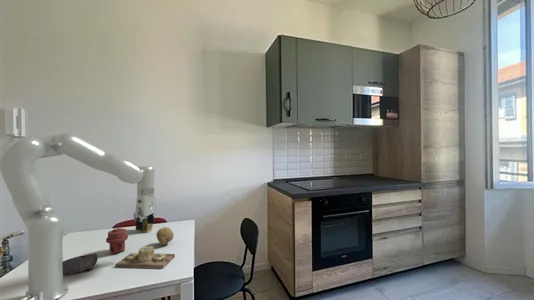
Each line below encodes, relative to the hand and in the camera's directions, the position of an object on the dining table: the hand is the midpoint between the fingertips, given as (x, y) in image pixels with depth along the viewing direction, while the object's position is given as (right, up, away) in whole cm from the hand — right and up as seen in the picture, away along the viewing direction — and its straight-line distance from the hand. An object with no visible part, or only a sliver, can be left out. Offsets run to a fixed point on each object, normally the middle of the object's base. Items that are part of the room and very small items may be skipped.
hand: (145, 226), depth 118 cm
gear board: (0, -17, +1) cm, 17 cm away
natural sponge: (+1, -17, +22) cm, 28 cm away
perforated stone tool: (-26, -18, -9) cm, 33 cm away
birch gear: (0, -16, 0) cm, 16 cm away
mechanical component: (-21, -18, +12) cm, 30 cm away
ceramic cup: (-23, -17, +45) cm, 53 cm away
